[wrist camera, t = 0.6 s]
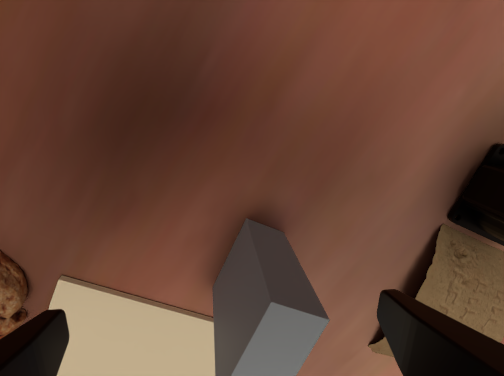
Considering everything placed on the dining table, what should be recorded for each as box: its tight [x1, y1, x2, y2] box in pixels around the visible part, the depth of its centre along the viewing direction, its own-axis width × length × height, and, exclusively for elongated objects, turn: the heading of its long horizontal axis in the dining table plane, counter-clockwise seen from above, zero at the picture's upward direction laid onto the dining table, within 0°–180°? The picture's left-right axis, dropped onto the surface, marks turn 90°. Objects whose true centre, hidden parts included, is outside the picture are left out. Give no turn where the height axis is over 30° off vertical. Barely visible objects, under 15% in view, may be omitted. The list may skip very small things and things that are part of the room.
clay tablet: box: [368, 224, 504, 357], centre depth 26 cm, size 14×10×3 cm
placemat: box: [48, 275, 215, 376], centre depth 24 cm, size 14×13×1 cm
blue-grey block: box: [213, 218, 330, 376], centre depth 19 cm, size 3×6×9 cm, turn 155°
